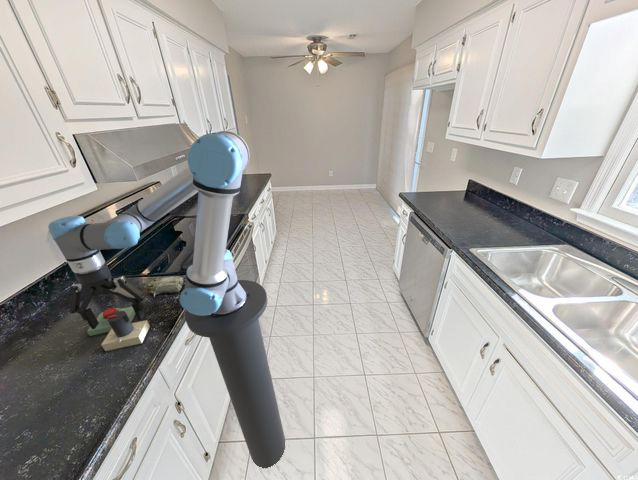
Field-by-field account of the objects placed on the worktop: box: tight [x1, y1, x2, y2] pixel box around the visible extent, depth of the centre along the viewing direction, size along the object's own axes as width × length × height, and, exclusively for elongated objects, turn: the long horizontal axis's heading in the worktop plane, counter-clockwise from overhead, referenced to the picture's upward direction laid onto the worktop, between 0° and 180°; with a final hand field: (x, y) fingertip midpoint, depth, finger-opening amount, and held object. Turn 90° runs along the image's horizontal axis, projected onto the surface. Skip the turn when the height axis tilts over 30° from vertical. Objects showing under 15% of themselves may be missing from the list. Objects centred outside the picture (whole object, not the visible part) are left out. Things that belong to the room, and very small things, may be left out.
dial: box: [108, 311, 134, 337], centre depth 85 cm, size 5×5×7 cm
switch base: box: [86, 306, 136, 337], centre depth 94 cm, size 12×10×4 cm
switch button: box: [102, 307, 117, 319], centre depth 93 cm, size 4×4×2 cm
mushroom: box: [145, 275, 184, 298], centre depth 111 cm, size 14×10×5 cm, turn 98°
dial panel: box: [100, 319, 151, 352], centre depth 87 cm, size 11×9×3 cm
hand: (119, 321), depth 84 cm, fingers open, 13 cm apart
